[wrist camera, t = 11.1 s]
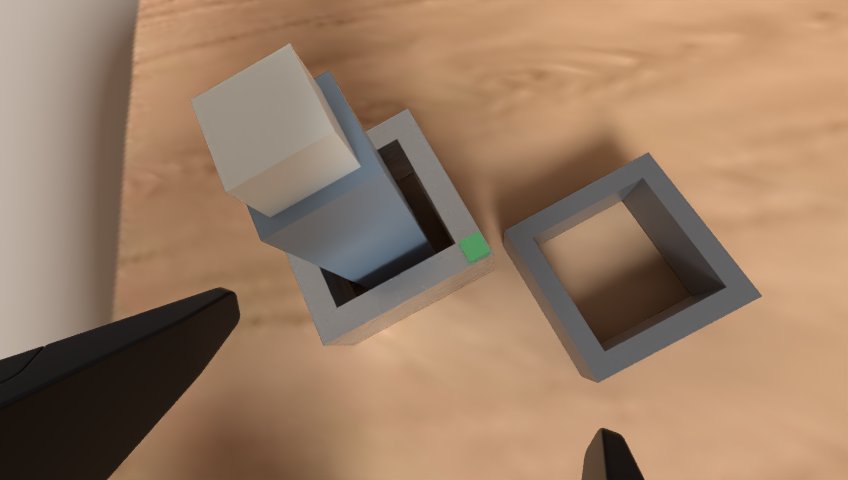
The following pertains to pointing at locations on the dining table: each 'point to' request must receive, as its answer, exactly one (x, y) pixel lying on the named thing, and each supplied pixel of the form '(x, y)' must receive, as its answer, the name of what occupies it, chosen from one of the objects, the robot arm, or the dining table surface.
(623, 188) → the frame
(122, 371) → the robot arm
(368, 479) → the dining table surface
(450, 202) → the socket block
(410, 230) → the plug
